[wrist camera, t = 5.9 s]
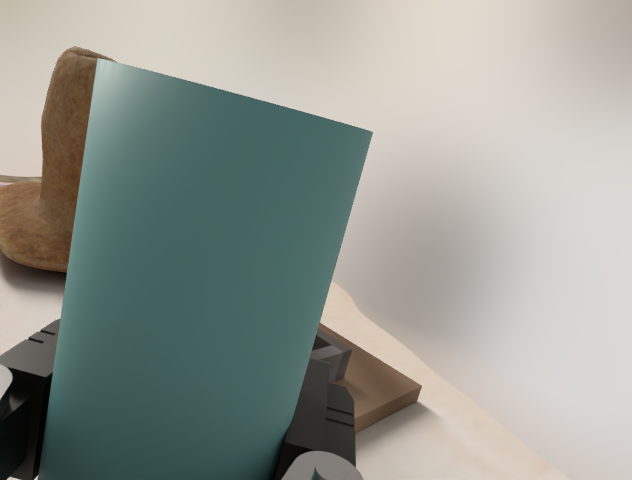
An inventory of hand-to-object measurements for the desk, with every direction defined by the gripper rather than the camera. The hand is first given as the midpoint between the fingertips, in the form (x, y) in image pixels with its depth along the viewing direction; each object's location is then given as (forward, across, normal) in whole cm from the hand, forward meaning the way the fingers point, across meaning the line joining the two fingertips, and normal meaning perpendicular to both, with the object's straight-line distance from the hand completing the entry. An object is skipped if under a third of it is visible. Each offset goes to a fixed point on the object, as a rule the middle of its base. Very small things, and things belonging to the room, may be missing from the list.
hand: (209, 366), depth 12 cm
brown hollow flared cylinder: (+25, +16, +8) cm, 31 cm away
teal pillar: (-3, 0, +8) cm, 8 cm away
